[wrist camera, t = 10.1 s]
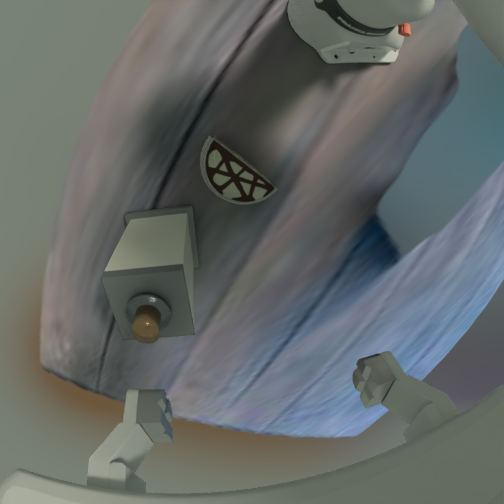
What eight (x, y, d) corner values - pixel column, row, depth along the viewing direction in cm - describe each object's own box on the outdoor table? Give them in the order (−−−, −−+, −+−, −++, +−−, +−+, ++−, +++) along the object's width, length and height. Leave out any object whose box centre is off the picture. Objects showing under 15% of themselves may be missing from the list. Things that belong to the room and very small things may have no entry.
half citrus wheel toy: (184, 160, 45) (180, 174, 36) (207, 131, 43) (209, 136, 34) (242, 202, 50) (252, 224, 41) (265, 175, 48) (280, 191, 40)
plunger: (178, 231, 45) (169, 306, 29) (183, 269, 48) (181, 352, 32) (136, 236, 44) (107, 311, 28) (144, 273, 47) (125, 355, 31)
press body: (192, 205, 49) (190, 261, 32) (199, 265, 54) (203, 339, 37) (125, 212, 47) (91, 271, 30) (138, 271, 53) (119, 344, 36)
